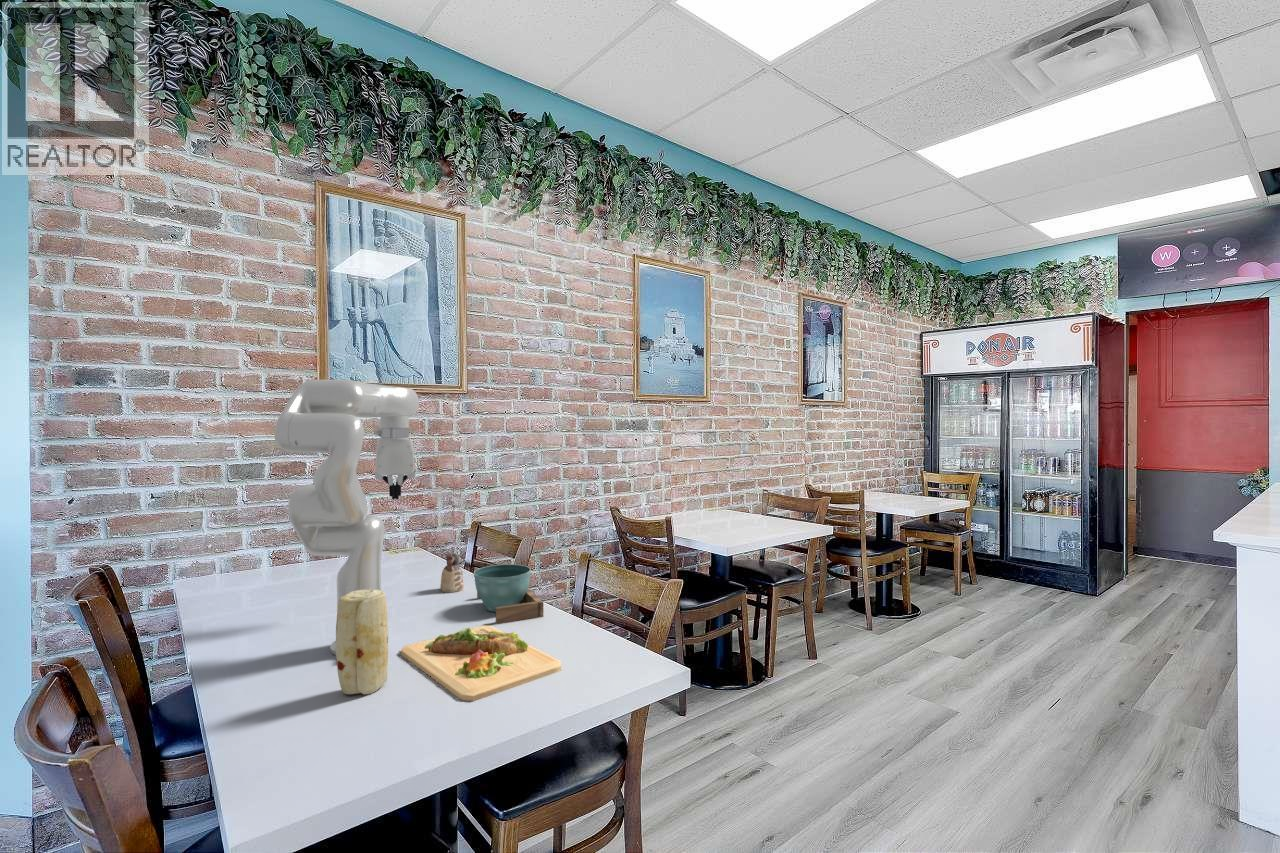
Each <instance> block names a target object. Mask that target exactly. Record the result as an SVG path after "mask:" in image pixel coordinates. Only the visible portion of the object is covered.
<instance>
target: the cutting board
mask: <svg viewBox="0 0 1280 853" xmlns="http://www.w3.org/2000/svg"><path fill="white" fill-rule="evenodd" d="M400 655H401V656H402V657H403V658H405V659H406V660H407V661H408V662H410V663H411V664H413V665H414V666H416V667H417V668H418V669H419V670H420V671H422V672H423V671H424V672H423V673H425V674H426V675H427V674H428V675H427V676H428V677H430V676H431V677H430V678H432V679H433V680H434V679H435V680H434V681H435V682H436V683H438V682H439V683H438V684H439V685H441V686H442V687H444V688H445V689H446V690H447V691H449V692H451V693H452V694H453V695H454V696H456V698H458V699H459V700H461V701H469V702H477V701H479V700H482V699H485V698H488V697H491V696H493V695H496V694H499V693H501V692H504V691H507V690H511V689H514V688H516V687H520V686H521V685H524V684H528V683H530V682H533V681H536V680H538V679H542V678H544V677H548V676H550V675H552V674H557V673H559V672H561V671H562V661H561V660H560V659H557V658H555V657H553V656H551V655H549V654H548V653H546V652H544V651H541V650H540V649H538V648H537V647H536V648H535V647H534V646H532V645H529V644H528V643H527V642H526V641H525V640H522V639H521V638H520V637H519V635H518V633H516V632H514V631H512V632H510V633H508V632H504V631H503V630H500V629H498V628H497V627H494V626H491V625H481V626H476V627H472V626H470V627H467V628H466V627H463V628H462V629H461V630H460V631H456V632H453V633H450V634H445V635H443V634H439V636H437V637H434V638H430V639H426V640H422V641H417V642H414V643H411V644H406V645H403V647H402V648H401V649H400Z"/></svg>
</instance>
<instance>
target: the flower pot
mask: <svg viewBox="0 0 1280 853" xmlns="http://www.w3.org/2000/svg"><path fill="white" fill-rule="evenodd" d="M531 569H532V568H531V567H529V566H527V565H523V564H511V563H510V564H505V563H504V564H494V565H489V566H484V567H480V568H477V569H476V570H474V571H473V577H474V584H475V589H476V593H477V592H478V595H479V597H480V598H481V599H480V600H481V601H482V602H483V604H484V605H485V609H486V610H487V611H489V612H495V613H496V607H501V606H508V605H515V604H521V602H522V601H521V600H522V599H523V597H524V595H525V594H526V591H527V589H529V585H530V579H531V571H532V570H531Z"/></svg>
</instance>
